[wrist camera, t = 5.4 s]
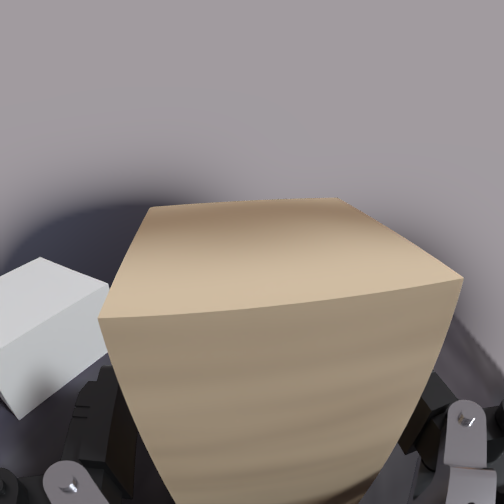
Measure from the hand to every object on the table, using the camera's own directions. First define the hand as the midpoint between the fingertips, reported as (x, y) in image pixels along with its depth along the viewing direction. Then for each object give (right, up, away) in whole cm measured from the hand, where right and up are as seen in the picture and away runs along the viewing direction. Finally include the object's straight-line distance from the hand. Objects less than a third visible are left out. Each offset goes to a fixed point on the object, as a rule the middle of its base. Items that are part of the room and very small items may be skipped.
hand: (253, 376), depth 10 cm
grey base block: (-16, -4, +10) cm, 19 cm away
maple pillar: (0, -7, +1) cm, 7 cm away
